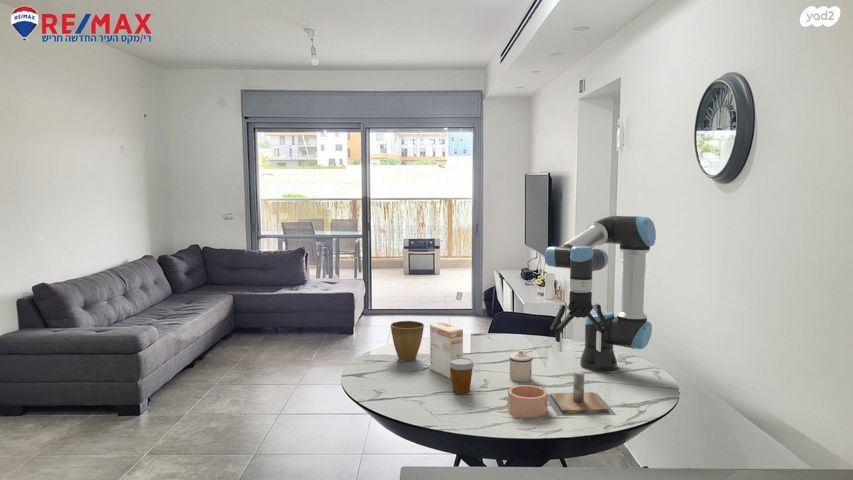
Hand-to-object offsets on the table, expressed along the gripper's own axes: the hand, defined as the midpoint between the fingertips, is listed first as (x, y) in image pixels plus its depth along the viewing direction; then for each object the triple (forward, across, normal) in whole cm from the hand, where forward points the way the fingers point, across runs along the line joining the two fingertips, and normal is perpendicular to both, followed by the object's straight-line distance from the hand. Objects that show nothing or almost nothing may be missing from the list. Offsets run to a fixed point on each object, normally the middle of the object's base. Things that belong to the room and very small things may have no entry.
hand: (579, 350), depth 205 cm
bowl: (+20, -19, -4) cm, 28 cm away
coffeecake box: (+20, -44, +39) cm, 62 cm away
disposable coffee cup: (+20, -40, +16) cm, 48 cm away
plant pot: (+20, -60, +58) cm, 86 cm away
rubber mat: (+20, 0, 0) cm, 20 cm away
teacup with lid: (+20, -15, +31) cm, 40 cm away
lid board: (+19, 0, 0) cm, 19 cm away
